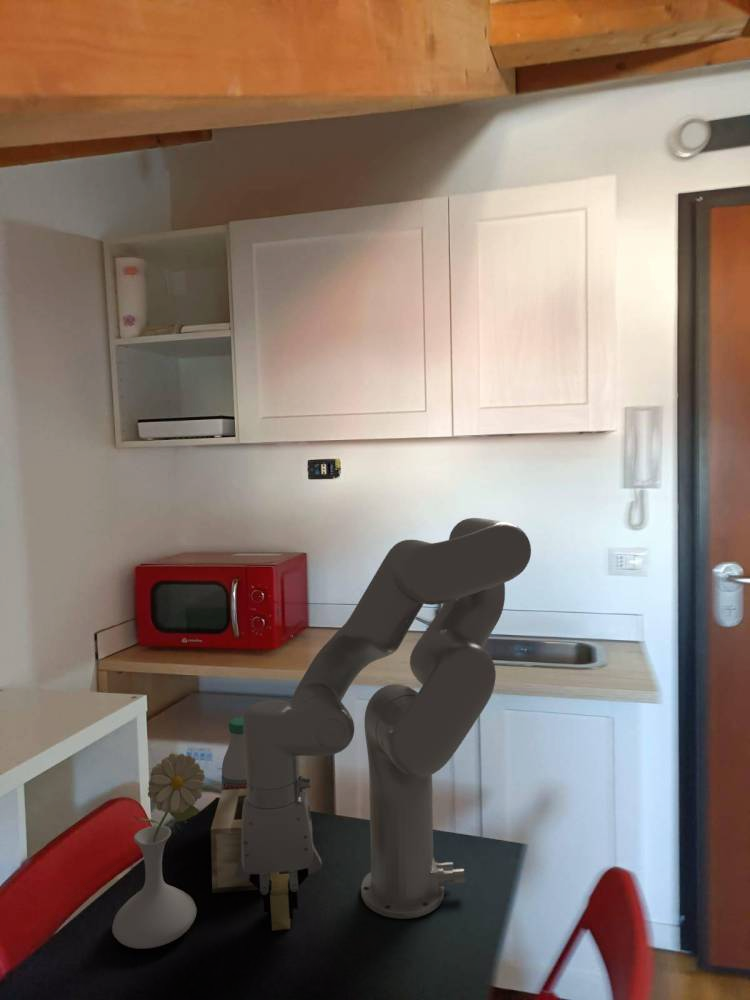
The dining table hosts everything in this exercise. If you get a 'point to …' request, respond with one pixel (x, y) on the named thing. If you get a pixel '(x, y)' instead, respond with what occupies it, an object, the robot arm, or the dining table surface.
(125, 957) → the dining table surface
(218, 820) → the box
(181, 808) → the flower in vase
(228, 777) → the milk bottle
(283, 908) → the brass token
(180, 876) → the dining table surface
